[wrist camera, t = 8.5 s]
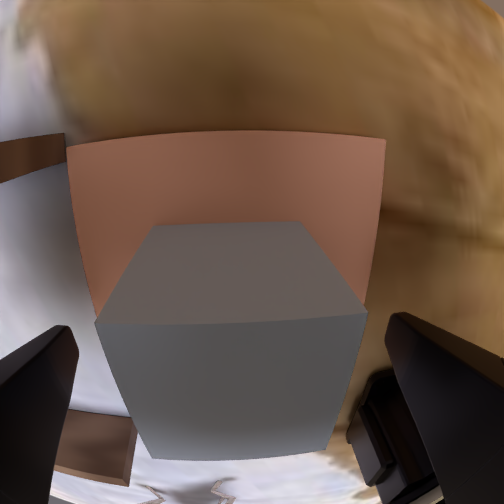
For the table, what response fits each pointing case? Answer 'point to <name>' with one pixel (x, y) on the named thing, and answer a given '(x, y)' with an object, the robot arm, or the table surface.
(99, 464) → the walnut u-shaped frame
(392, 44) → the table surface
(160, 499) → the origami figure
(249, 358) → the slate block
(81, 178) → the terracotta mat
